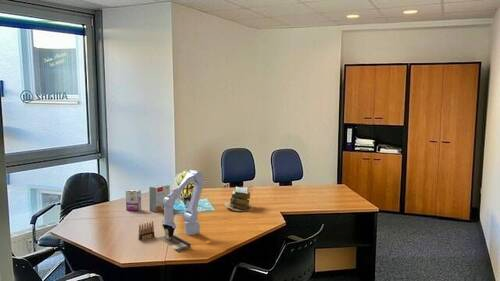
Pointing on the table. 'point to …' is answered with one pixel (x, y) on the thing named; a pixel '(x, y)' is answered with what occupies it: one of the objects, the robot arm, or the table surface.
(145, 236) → the ammunition clip
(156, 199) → the hard drive box
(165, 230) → the block
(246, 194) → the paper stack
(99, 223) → the table surface
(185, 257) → the table surface
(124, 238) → the table surface
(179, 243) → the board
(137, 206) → the candy bar box
